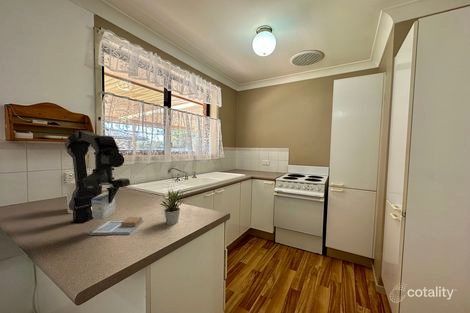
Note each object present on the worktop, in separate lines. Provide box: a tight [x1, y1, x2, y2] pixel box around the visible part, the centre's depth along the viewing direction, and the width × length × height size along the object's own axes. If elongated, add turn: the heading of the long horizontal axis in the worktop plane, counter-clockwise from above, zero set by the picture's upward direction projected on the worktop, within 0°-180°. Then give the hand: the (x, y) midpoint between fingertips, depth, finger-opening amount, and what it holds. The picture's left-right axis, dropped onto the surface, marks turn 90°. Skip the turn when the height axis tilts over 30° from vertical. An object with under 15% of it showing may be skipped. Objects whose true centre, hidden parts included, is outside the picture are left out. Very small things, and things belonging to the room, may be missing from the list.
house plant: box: [157, 188, 188, 226], centre depth 88 cm, size 14×14×16 cm
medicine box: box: [91, 191, 117, 220], centre depth 78 cm, size 8×4×9 cm, turn 0°
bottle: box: [65, 175, 92, 214], centre depth 104 cm, size 12×12×25 cm
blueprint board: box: [88, 216, 144, 236], centre depth 81 cm, size 16×12×3 cm
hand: (104, 203), depth 78 cm, fingers closed on medicine box, 4 cm apart
